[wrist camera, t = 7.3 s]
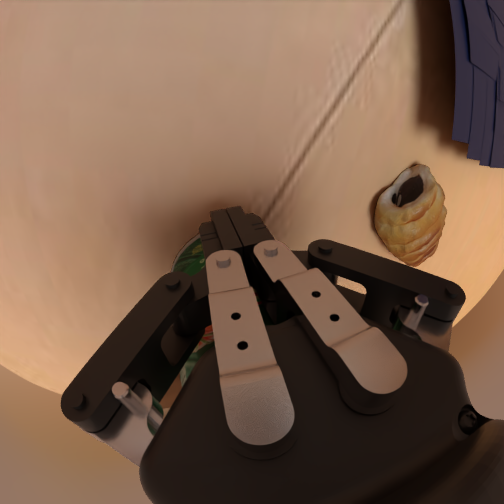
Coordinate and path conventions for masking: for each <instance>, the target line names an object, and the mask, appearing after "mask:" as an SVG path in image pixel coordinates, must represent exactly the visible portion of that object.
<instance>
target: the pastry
mask: <svg viewBox="0 0 504 504" xmlns="http://www.w3.org/2000/svg"><path fill="white" fill-rule="evenodd" d="M444 200H445V195H444V192H443V189H442V187H441V186H440V185H439V184H438V183H437V182H436V180H435V178H434V176H433V175H432V174H431V172H430V169H429V167H428V166H426V165H422V164H419V165H416V166H412V167H411V168H407V169H406V170H404V171H403V172H402V173H401V174H400V175H399V177H398V178H397V179H396V180H395V182H394V183H393V185H392V186H391V187H389V188H388V189H387V190H385V191H384V192H383V193H382V194H381V195H380V197H379V199H378V202H377V207H376V210H375V216H374V223H375V224H374V225H375V228H376V230H377V233H378V235H379V236H380V238H381V239H382V240H383V242H384V243H385V245H386V247H387V248H388V250H389V251H390V252H391V253H392V254H393V255H394V256H395V257H397V258H398V259H400V260H401V261H403V262H404V263H405V264H407V265H408V266H413V267H416V266H418V265H420V264H421V263H422V262H424V261H425V260H426V259H427V258H429V257H431V256H432V255H433V254H434V253H435V251H436V249H437V246H438V242H439V239H440V237H441V236H442V230H443V227H444V225H445V217H446V214H447V210H446V208H445V206H444V205H443V204H444Z"/></svg>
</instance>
